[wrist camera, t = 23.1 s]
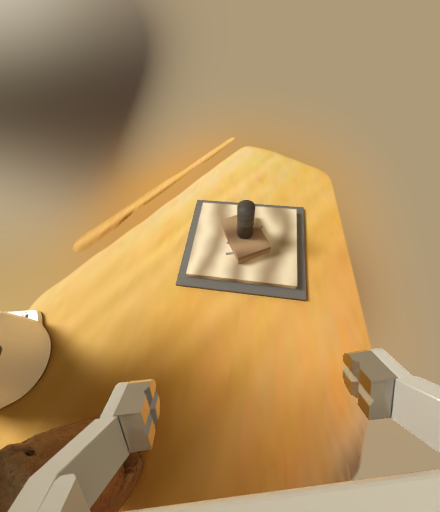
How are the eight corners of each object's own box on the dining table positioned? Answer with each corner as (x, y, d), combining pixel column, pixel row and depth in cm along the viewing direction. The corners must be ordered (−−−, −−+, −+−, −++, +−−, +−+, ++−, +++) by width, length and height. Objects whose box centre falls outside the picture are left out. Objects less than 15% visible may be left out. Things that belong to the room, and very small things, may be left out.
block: (71, 457, 35) (-90, 530, 18) (107, 409, 38) (-2, 430, 21) (120, 515, 32) (-19, 673, 15) (155, 457, 35) (75, 531, 17)
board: (187, 276, 48) (185, 273, 47) (203, 206, 57) (202, 202, 56) (295, 288, 46) (297, 286, 44) (295, 213, 54) (296, 209, 53)
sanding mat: (176, 285, 48) (175, 284, 48) (197, 201, 59) (197, 199, 58) (305, 300, 45) (306, 299, 44) (302, 209, 56) (303, 207, 55)
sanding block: (269, 252, 48) (277, 221, 39) (238, 263, 47) (238, 235, 38) (250, 217, 53) (252, 182, 44) (221, 227, 52) (218, 193, 43)
